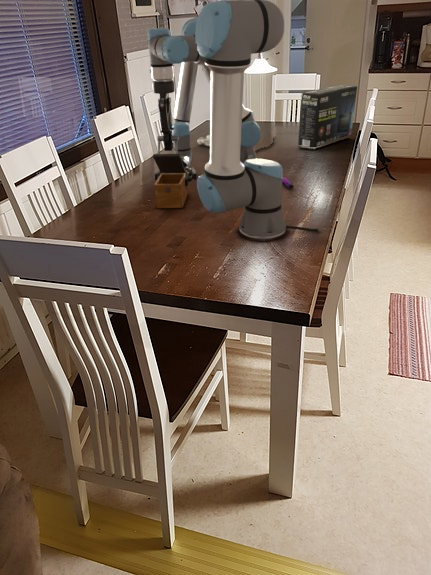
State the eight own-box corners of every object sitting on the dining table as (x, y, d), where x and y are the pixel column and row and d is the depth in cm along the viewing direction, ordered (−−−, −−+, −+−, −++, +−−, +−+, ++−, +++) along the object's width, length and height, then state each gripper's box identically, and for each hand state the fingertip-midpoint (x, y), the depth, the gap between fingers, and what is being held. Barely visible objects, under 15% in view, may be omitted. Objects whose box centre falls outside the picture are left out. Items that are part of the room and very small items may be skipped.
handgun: (261, 176, 200) (261, 171, 199) (278, 174, 201) (278, 169, 200) (275, 191, 183) (275, 186, 182) (294, 188, 184) (294, 184, 183)
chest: (182, 208, 170) (180, 184, 166) (156, 208, 171) (154, 184, 166) (187, 195, 182) (185, 173, 178) (163, 196, 183) (160, 173, 178)
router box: (314, 151, 231) (318, 94, 217) (296, 148, 237) (299, 92, 224) (352, 138, 251) (358, 85, 238) (335, 135, 258) (340, 83, 245)
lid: (179, 156, 163) (180, 132, 164) (152, 156, 164) (153, 133, 165) (185, 173, 177) (185, 151, 179) (160, 173, 178) (161, 151, 180)
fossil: (220, 142, 238) (201, 123, 241) (210, 159, 244) (191, 141, 248) (238, 140, 252) (219, 123, 255) (227, 157, 258) (210, 139, 261)
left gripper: (206, 174, 197) (201, 191, 178) (155, 175, 199) (145, 192, 180) (205, 156, 193) (200, 172, 174) (153, 157, 195) (143, 173, 176)
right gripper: (155, 77, 163) (162, 144, 176) (148, 83, 151) (155, 155, 163) (176, 77, 163) (181, 144, 175) (170, 82, 150) (176, 154, 162)
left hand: (172, 183), depth 177 cm, fingers closed on chest, 10 cm apart
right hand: (168, 149), depth 169 cm, fingers closed on lid, 2 cm apart
